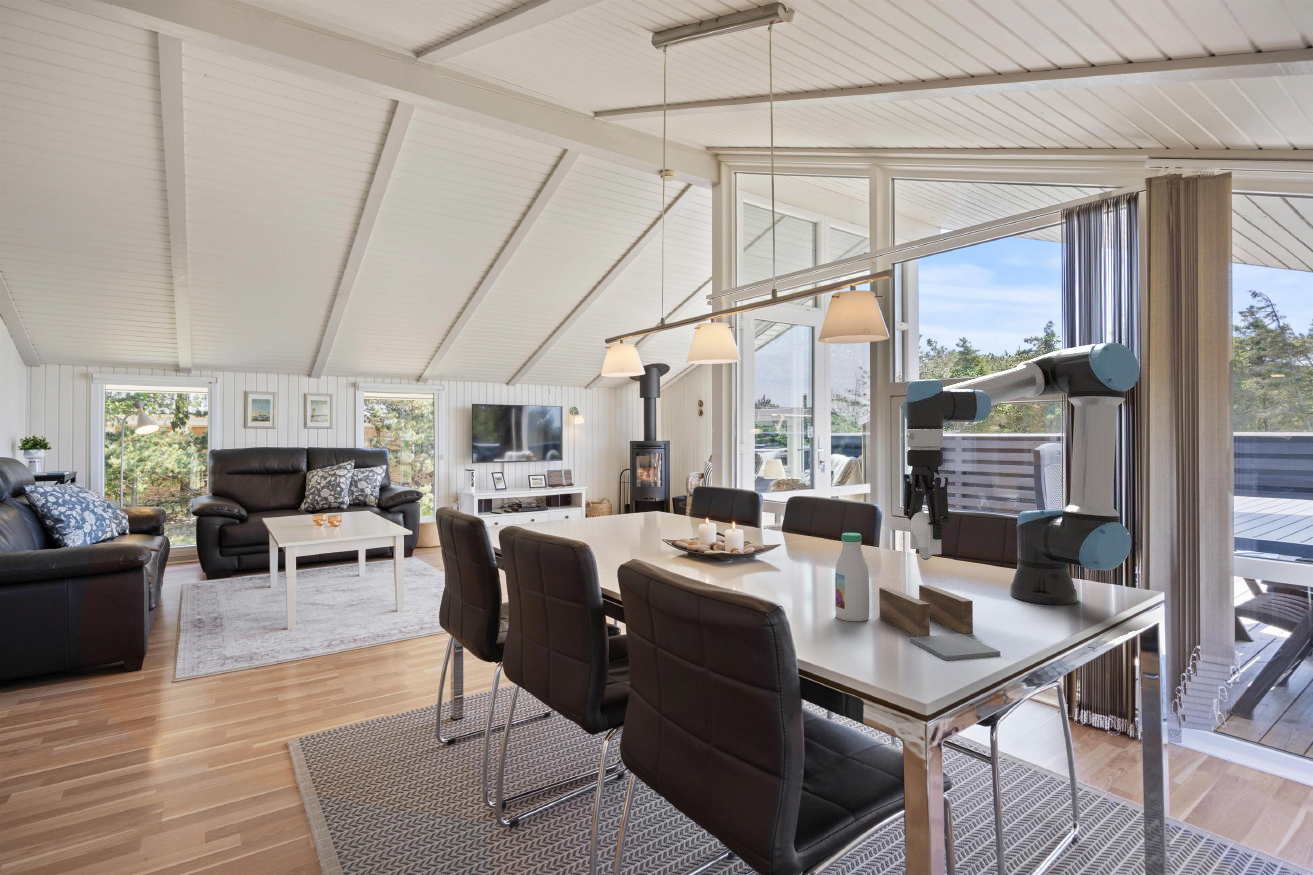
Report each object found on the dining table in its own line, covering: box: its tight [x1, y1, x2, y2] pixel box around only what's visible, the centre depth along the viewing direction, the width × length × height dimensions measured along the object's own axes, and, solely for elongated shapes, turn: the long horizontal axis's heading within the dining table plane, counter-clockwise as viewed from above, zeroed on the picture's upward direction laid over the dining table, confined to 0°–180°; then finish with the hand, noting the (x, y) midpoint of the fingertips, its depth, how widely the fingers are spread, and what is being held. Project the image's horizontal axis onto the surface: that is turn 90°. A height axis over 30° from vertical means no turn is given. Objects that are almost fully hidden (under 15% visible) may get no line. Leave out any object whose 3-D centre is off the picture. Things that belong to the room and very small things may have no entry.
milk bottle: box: [834, 532, 870, 622], centre depth 157 cm, size 8×8×20 cm
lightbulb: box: [909, 510, 933, 561], centre depth 149 cm, size 6×6×11 cm
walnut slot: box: [878, 584, 974, 637], centre depth 151 cm, size 13×16×7 cm
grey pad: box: [909, 632, 1001, 661], centre depth 134 cm, size 12×12×1 cm
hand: (925, 550), depth 149 cm, fingers closed on lightbulb, 6 cm apart
